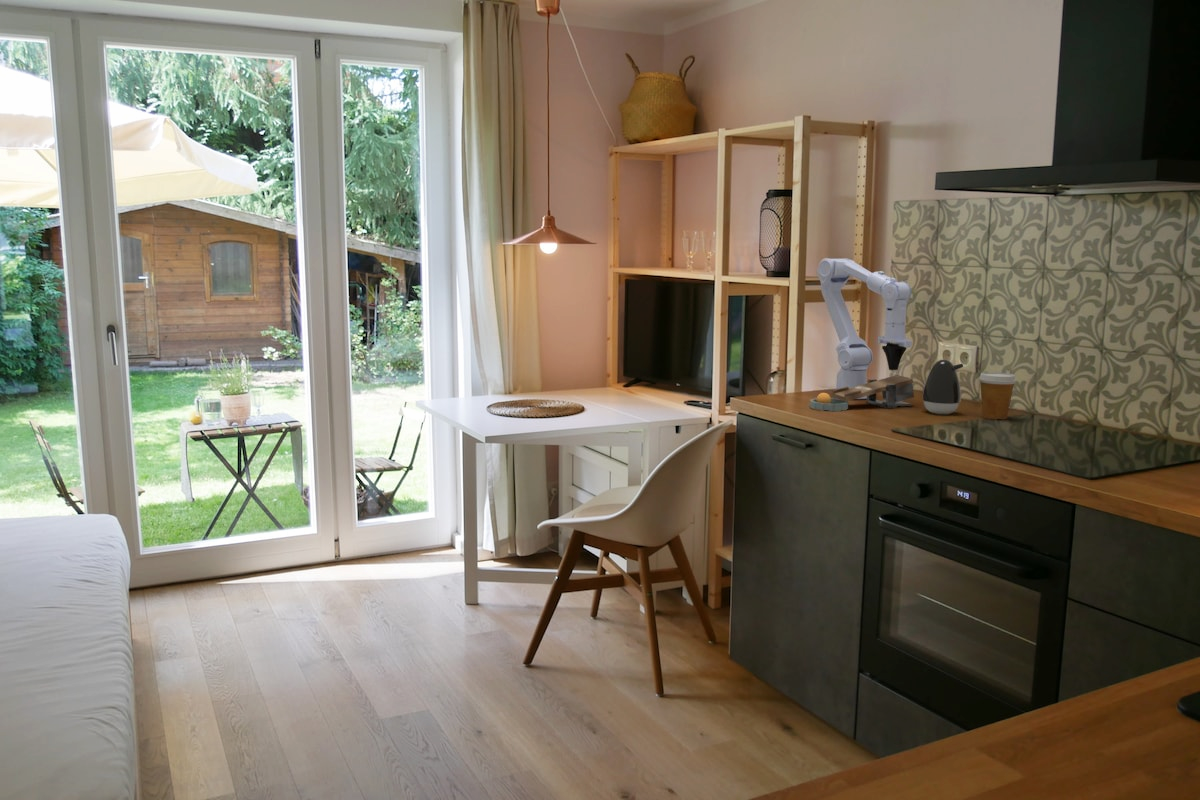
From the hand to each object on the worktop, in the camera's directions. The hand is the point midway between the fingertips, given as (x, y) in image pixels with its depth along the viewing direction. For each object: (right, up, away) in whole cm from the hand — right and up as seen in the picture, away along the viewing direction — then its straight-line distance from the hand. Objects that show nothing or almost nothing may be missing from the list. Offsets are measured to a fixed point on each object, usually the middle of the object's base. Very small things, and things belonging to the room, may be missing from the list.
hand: (893, 369), depth 288 cm
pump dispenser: (+10, -13, -11) cm, 20 cm away
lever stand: (-1, -10, +1) cm, 10 cm away
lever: (-6, -10, -1) cm, 12 cm away
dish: (-20, -11, -5) cm, 23 cm away
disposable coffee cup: (+22, -14, -18) cm, 32 cm away
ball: (-22, -9, -6) cm, 24 cm away
